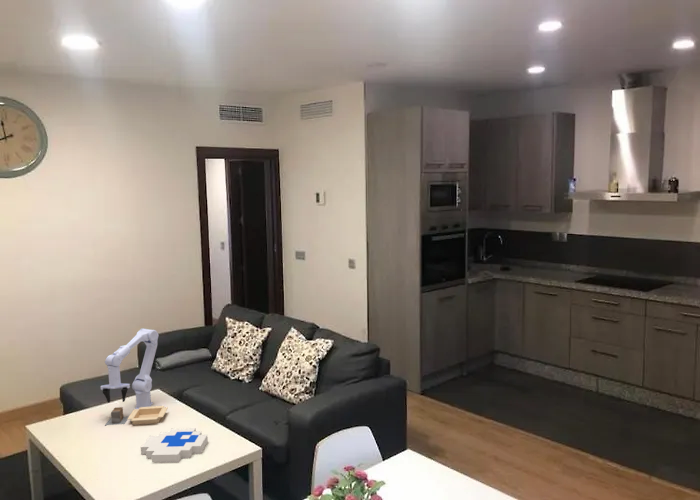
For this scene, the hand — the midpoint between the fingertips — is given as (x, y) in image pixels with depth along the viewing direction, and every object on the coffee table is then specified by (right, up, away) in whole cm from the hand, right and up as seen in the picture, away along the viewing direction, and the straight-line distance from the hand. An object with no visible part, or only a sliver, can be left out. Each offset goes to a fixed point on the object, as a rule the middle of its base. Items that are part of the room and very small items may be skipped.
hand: (116, 401), depth 313 cm
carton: (+18, -9, -1) cm, 20 cm away
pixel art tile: (+42, -13, -36) cm, 57 cm away
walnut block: (+2, -9, -3) cm, 10 cm away
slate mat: (+2, -10, -3) cm, 10 cm away
